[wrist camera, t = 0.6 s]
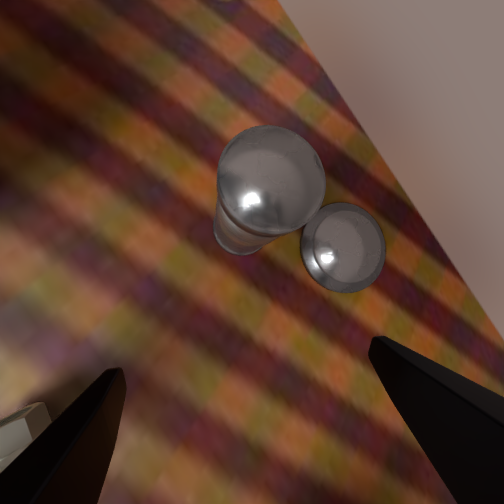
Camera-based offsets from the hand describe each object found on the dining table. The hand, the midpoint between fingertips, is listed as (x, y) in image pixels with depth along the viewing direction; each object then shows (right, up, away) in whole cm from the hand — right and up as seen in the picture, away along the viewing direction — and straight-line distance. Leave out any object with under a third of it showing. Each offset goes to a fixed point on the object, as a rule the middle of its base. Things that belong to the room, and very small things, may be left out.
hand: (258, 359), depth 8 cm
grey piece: (-1, +6, +14) cm, 15 cm away
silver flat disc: (+9, +4, +15) cm, 18 cm away
